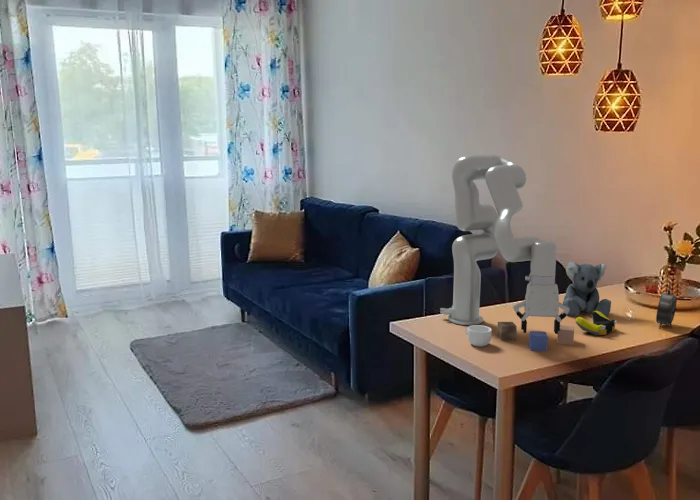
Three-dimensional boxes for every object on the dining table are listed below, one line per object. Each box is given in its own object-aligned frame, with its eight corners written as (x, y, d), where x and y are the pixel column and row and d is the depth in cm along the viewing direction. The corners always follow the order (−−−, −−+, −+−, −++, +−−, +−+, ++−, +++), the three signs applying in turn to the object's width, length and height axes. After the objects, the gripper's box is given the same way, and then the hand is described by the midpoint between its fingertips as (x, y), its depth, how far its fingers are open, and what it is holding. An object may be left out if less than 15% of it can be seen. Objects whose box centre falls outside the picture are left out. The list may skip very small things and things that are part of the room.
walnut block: (500, 340, 219) (501, 326, 218) (497, 335, 223) (497, 321, 223) (515, 340, 219) (516, 326, 218) (511, 335, 224) (512, 321, 223)
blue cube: (530, 350, 209) (531, 335, 208) (528, 345, 214) (529, 330, 213) (546, 351, 208) (547, 336, 207) (544, 346, 213) (545, 331, 212)
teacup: (496, 345, 214) (496, 329, 213) (480, 350, 209) (480, 333, 208) (473, 337, 221) (473, 322, 220) (457, 341, 217) (457, 326, 216)
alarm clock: (660, 321, 241) (664, 278, 238) (676, 324, 238) (681, 280, 235) (654, 329, 232) (658, 284, 229) (670, 331, 229) (675, 286, 226)
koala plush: (564, 317, 246) (568, 266, 242) (553, 304, 263) (557, 256, 260) (612, 318, 244) (616, 267, 241) (598, 305, 262) (602, 257, 258)
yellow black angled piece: (572, 332, 228) (599, 339, 221) (573, 317, 227) (600, 323, 220) (593, 323, 238) (620, 330, 231) (594, 309, 237) (621, 315, 230)
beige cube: (557, 343, 216) (558, 328, 215) (557, 339, 221) (558, 324, 220) (573, 345, 214) (574, 330, 213) (573, 340, 219) (574, 326, 218)
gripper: (515, 281, 204) (513, 335, 207) (573, 283, 202) (570, 336, 205) (513, 276, 212) (511, 328, 214) (568, 278, 209) (566, 330, 212)
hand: (540, 332), depth 210 cm, fingers open, 9 cm apart
